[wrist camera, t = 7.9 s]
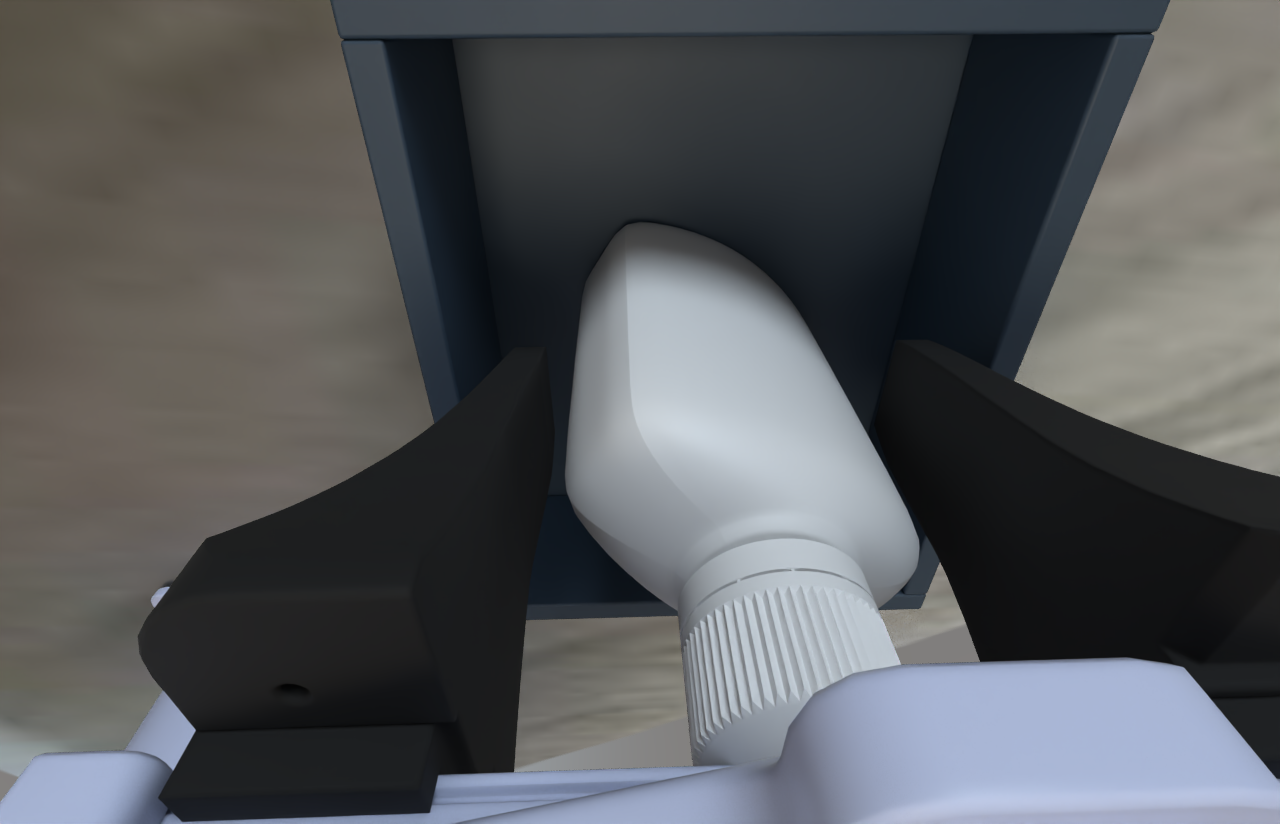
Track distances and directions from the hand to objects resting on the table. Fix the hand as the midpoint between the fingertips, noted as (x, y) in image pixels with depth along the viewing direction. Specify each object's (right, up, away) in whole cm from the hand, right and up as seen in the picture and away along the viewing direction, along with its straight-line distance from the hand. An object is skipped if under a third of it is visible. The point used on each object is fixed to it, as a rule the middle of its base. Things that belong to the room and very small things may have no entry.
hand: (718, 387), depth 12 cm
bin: (0, +2, +3) cm, 4 cm away
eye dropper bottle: (0, +2, +3) cm, 4 cm away
